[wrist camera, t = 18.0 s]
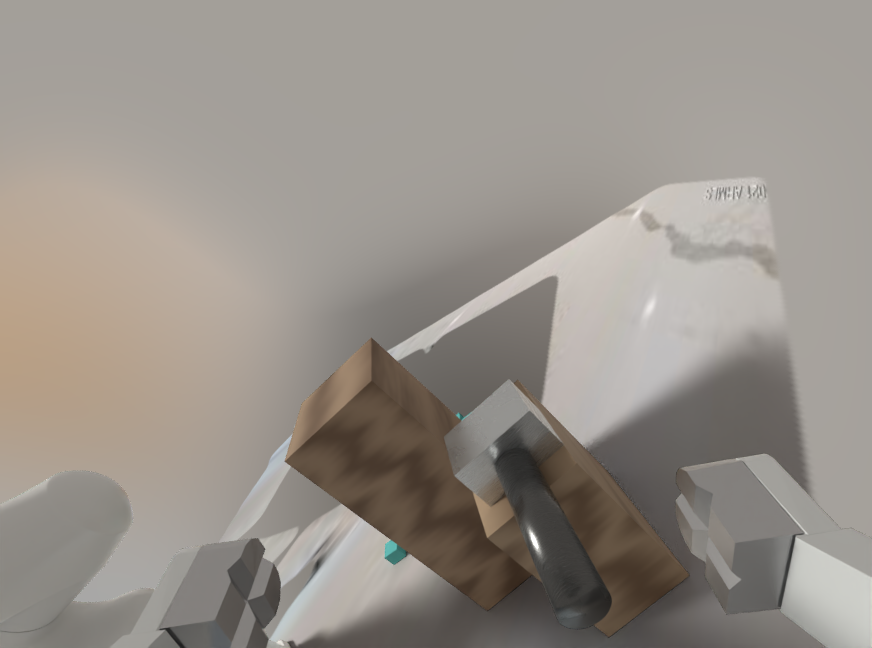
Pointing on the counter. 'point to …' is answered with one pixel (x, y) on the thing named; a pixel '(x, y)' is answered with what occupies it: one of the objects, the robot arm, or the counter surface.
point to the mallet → (528, 497)
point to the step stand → (465, 490)
